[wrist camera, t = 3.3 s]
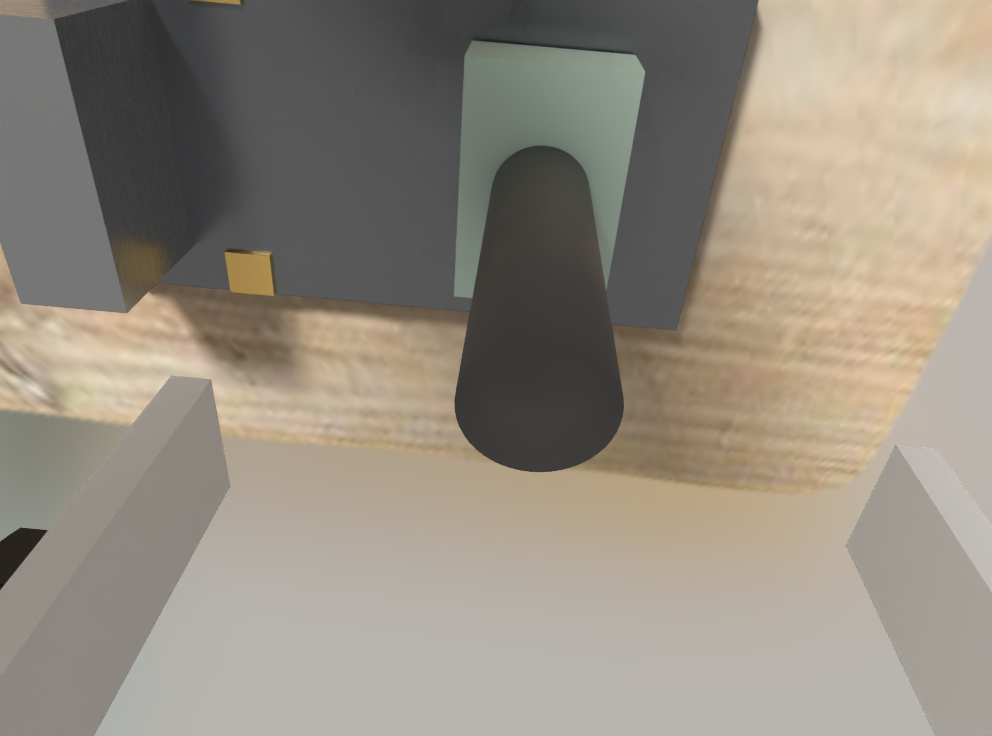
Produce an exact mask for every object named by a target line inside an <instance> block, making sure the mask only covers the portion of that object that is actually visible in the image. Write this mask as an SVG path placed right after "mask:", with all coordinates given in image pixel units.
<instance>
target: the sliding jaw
mask: <svg viewBox="0 0 992 736" xmlns="http://www.w3.org/2000/svg"><path fill="white" fill-rule="evenodd" d="M644 77H645V70H644V69H643V67H642V65H641V63H640V62H639V60H638V58H637V57H636V55H631V54H620V53H608V52H597V51H586V50H574V49H563V48H552V47H540V46H529V45H518V44H506V43H495V42H484V41H473V40H472V42H471V44H470V46H469V48H468V50H467V52H466V54H465V57H464V80H463V102H462V125H461V148H460V170H459V193H458V215H457V238H456V260H455V283H454V296H455V297H466V298H472V303H471V308H470V314H469V320H468V326H467V331H466V337H465V343H464V348H463V354H462V360H461V366H460V371H459V377H458V383H457V388H456V395H455V413H456V418H457V421H458V424H459V427H460V428H461V430H462V432H463V434H464V436H465V437H466V438H467V440H468V441H469V442H470V443H471V444H472V445H473V446H474V447H475V448H476V449H477V450H478V451H479V452H480V453H482V454H483V455H484V456H486V457H488V458H489V459H491V460H493V461H495V462H497V463H499V464H501V465H504V466H507V467H509V468H513V469H517V470H522V471H529V472H551V471H557V470H563V469H566V468H570V467H573V466H576V465H578V464H581V463H583V462H585V461H587V460H589V459H590V458H592V457H593V456H595V455H596V454H598V453H599V452H600V451H601V450H602V449H604V448H605V447H606V446H607V444H608V443H609V442H610V441H611V440H612V438H613V437H614V435H615V434H616V432H617V430H618V428H619V426H620V423H621V420H622V416H623V409H624V402H623V393H622V387H621V381H620V374H619V368H618V362H617V356H616V349H615V343H614V337H613V330H612V324H611V318H610V312H609V305H608V299H607V293H606V290H607V284H608V278H609V273H610V267H611V262H612V256H613V250H614V245H615V239H616V234H617V228H618V222H619V217H620V211H621V206H622V200H623V194H624V189H625V183H626V178H627V172H628V166H629V161H630V155H631V150H632V144H633V138H634V133H635V127H636V122H637V116H638V110H639V105H640V99H641V94H642V88H643V82H644Z"/></svg>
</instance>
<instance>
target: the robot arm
mask: <svg viewBox="0 0 992 736" xmlns="http://www.w3.org/2000/svg"><path fill="white" fill-rule="evenodd" d="M229 487H230V483H229V477H228V471H227V466H226V460H225V455H224V450H223V443H222V438H221V432H220V427H219V421H218V416H217V410H216V404H215V399H214V393H213V388H212V382H211V379H201V378H191V377H180V376H171V377H170V378H169V379H168V381H167V382H166V383H165V384H164V386H163V387H162V388H161V389H160V391H159V392H158V393H157V395H156V396H155V397H154V398H153V400H152V401H151V402H150V403H149V405H148V406H147V407H146V408H145V410H144V411H143V412H142V413H141V415H140V416H139V417H138V418H137V420H136V421H135V422H134V423H133V425H132V426H131V427H130V428H129V430H128V431H127V432H126V433H125V435H124V436H123V437H122V438H121V440H120V441H119V442H118V443H117V445H116V446H115V447H114V449H113V450H112V451H111V452H110V453H109V455H108V456H107V457H106V458H105V460H104V461H103V462H102V463H101V465H100V466H99V467H98V468H97V470H96V471H95V472H94V473H93V475H92V476H91V477H90V478H89V480H88V481H87V482H86V484H85V485H84V486H83V487H82V489H81V490H80V491H79V492H78V494H77V495H76V496H75V497H74V499H73V500H72V501H71V502H70V504H69V505H68V506H67V507H66V509H65V510H64V511H63V512H62V514H61V515H60V516H59V517H58V519H57V520H56V521H55V522H54V524H53V525H52V526H51V527H50V529H49V530H39V529H29V528H20V529H18V530H16V531H15V532H13V533H12V534H10V535H9V536H7V537H6V538H5V539H3V540H2V541H1V542H0V736H94V735H95V733H96V731H97V729H98V727H99V725H100V724H101V722H102V720H103V718H104V716H105V715H106V713H107V711H108V709H109V707H110V705H111V703H112V702H113V700H114V698H115V696H116V694H117V693H118V691H119V689H120V687H121V685H122V683H123V682H124V680H125V678H126V676H127V674H128V672H129V670H130V669H131V667H132V665H133V663H134V661H135V659H136V658H137V656H138V654H139V652H140V650H141V648H142V647H143V645H144V643H145V641H146V639H147V637H148V636H149V634H150V632H151V630H152V628H153V626H154V625H155V623H156V621H157V619H158V617H159V615H160V614H161V612H162V610H163V608H164V606H165V604H166V603H167V601H168V599H169V597H170V595H171V593H172V592H173V590H174V588H175V586H176V584H177V582H178V581H179V579H180V577H181V575H182V573H183V571H184V570H185V568H186V566H187V564H188V562H189V560H190V559H191V557H192V555H193V553H194V551H195V549H196V547H197V546H198V544H199V542H200V540H201V538H202V537H203V535H204V533H205V531H206V529H207V527H208V526H209V524H210V522H211V520H212V518H213V516H214V514H215V513H216V511H217V509H218V507H219V505H220V504H221V502H222V500H223V498H224V496H225V494H226V493H227V491H228V489H229ZM846 546H847V548H848V551H849V553H850V555H851V557H852V559H853V561H854V563H855V565H856V568H857V570H858V572H859V574H860V576H861V578H862V580H863V583H864V585H865V587H866V589H867V591H868V593H869V595H870V598H871V600H872V602H873V604H874V606H875V608H876V610H877V612H878V615H879V617H880V619H881V621H882V623H883V625H884V628H885V630H886V632H887V633H888V636H889V638H890V640H891V642H892V645H893V647H894V649H895V651H896V653H897V655H898V657H899V660H900V662H901V664H902V666H903V668H904V670H905V672H906V675H907V677H908V679H909V681H910V683H911V685H912V687H913V689H914V692H915V694H916V696H917V698H918V700H919V702H920V704H921V706H922V709H923V711H924V713H925V715H926V717H927V719H928V722H929V724H930V726H931V728H932V730H933V732H934V734H935V736H992V525H991V524H990V522H989V521H988V520H987V518H986V517H985V515H984V514H983V513H982V511H981V510H980V508H979V507H978V506H977V504H976V503H975V502H974V500H973V499H972V497H971V496H970V494H969V493H968V492H967V490H966V489H965V488H964V486H963V485H962V483H961V482H960V481H959V479H958V478H957V477H956V475H955V474H954V472H953V471H952V469H951V468H950V467H949V465H948V464H947V463H946V461H945V460H944V458H943V457H942V455H941V454H940V453H939V451H938V450H937V449H936V448H930V447H921V446H910V445H899V444H896V445H895V447H894V449H893V451H892V453H891V455H890V457H889V459H888V461H887V463H886V465H885V467H884V469H883V471H882V473H881V475H880V477H879V479H878V481H877V483H876V485H875V487H874V489H873V491H872V493H871V496H870V497H869V499H868V502H867V503H866V506H865V508H864V510H863V512H862V514H861V516H860V518H859V520H858V522H857V524H856V526H855V528H854V530H853V532H852V534H851V536H850V538H849V540H848V542H847V544H846Z"/></svg>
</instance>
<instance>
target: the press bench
mask: <svg viewBox="0 0 992 736" xmlns="http://www.w3.org/2000/svg"><path fill="white" fill-rule="evenodd" d="M757 4H758V0H0V243H1V246H2V249H3V252H4V255H5V258H6V261H7V264H8V267H9V270H10V273H11V276H12V279H13V281H14V284H15V287H16V290H17V293H18V296H19V299H20V302H21V304H31V305H42V306H53V307H64V308H75V309H86V310H97V311H108V312H119V313H128V312H129V311H130V310H131V309H132V308H133V307H134V306H135V305H136V304H137V303H138V302H139V301H140V300H141V299H142V298H143V297H144V296H145V295H146V294H147V293H148V292H149V291H150V290H151V289H152V288H153V287H154V286H155V285H156V284H157V283H159V284H170V285H181V286H192V287H203V288H214V289H225V290H230V291H231V292H234V293H245V294H256V295H267V296H274V295H275V294H280V295H291V296H302V297H313V298H324V299H336V300H347V301H358V302H369V303H380V304H391V305H402V306H413V307H424V308H435V309H446V310H457V311H468V312H470V308H471V303H472V298H466V297H455V296H454V283H455V260H456V238H457V215H458V193H459V170H460V148H461V125H462V102H463V80H464V57H465V54H466V52H467V50H468V48H469V46H470V44H471V42H472V40H473V41H484V42H495V43H506V44H518V45H529V46H540V47H552V48H563V49H574V50H586V51H597V52H608V53H620V54H631V55H636V57H637V58H638V60H639V62H640V63H641V65H642V67H643V69H644V70H645V77H644V82H643V88H642V94H641V99H640V105H639V110H638V116H637V122H636V127H635V133H634V138H633V144H632V150H631V155H630V161H629V166H628V172H627V178H626V183H625V189H624V194H623V200H622V206H621V211H620V217H619V222H618V228H617V234H616V239H615V245H614V250H613V256H612V262H611V267H610V273H609V278H608V284H607V290H606V293H607V299H608V305H609V312H610V318H611V324H612V325H623V326H634V327H645V328H656V329H667V330H676V329H677V325H678V321H679V317H680V313H681V309H682V305H683V301H684V297H685V293H686V289H687V285H688V281H689V277H690V273H691V269H692V265H693V261H694V257H695V253H696V249H697V245H698V241H699V237H700V233H701V229H702V225H703V221H704V217H705V213H706V209H707V205H708V201H709V197H710V193H711V189H712V185H713V181H714V177H715V173H716V169H717V165H718V161H719V157H720V153H721V149H722V145H723V140H724V136H725V132H726V128H727V124H728V120H729V116H730V112H731V108H732V104H733V100H734V96H735V92H736V88H737V84H738V80H739V76H740V72H741V68H742V64H743V60H744V56H745V52H746V48H747V44H748V40H749V36H750V32H751V28H752V24H753V20H754V16H755V12H756V8H757Z"/></svg>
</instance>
